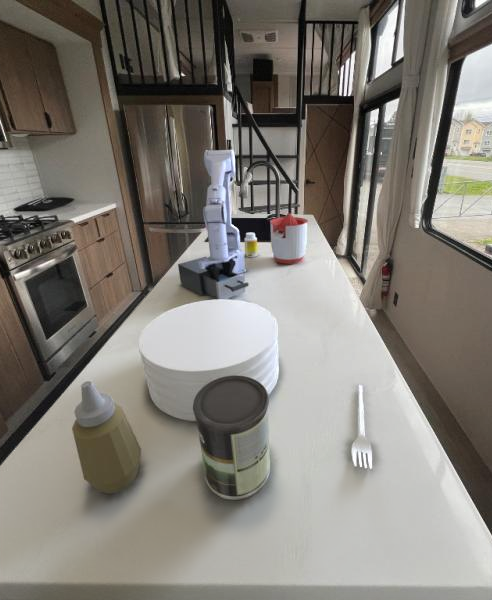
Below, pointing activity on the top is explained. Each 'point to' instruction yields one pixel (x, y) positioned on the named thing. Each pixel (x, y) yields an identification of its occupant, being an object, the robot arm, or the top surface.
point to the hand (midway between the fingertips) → (222, 283)
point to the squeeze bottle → (105, 442)
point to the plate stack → (206, 350)
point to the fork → (361, 437)
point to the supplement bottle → (250, 245)
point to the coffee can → (233, 435)
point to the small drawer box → (193, 275)
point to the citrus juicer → (288, 239)
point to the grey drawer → (224, 285)
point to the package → (223, 277)
